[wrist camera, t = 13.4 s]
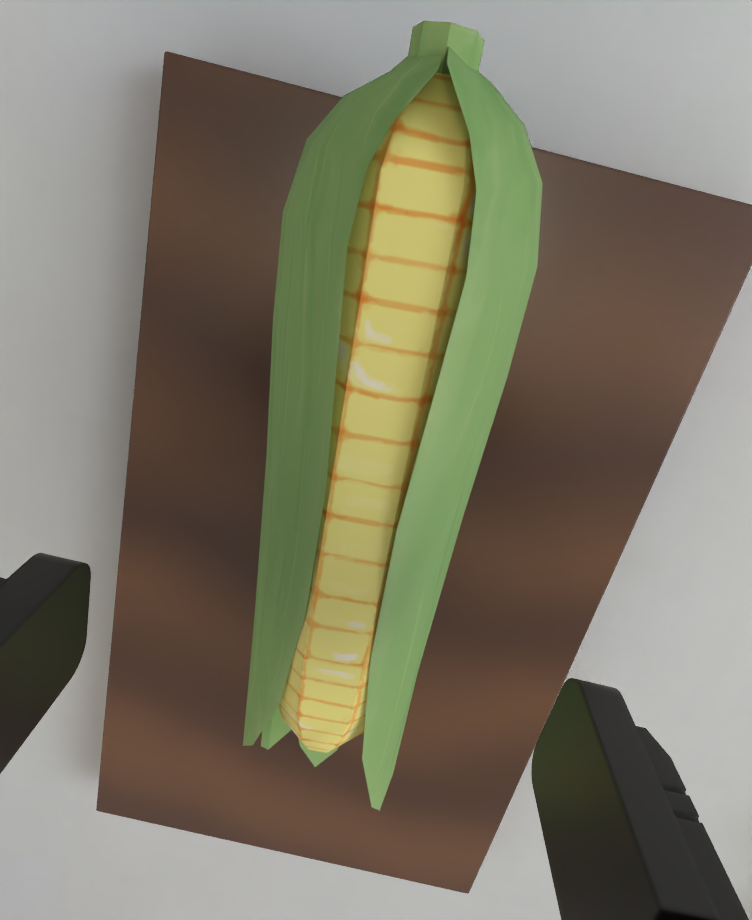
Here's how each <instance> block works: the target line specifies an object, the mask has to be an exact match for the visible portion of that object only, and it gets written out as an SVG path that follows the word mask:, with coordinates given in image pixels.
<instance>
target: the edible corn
mask: <svg viewBox="0 0 752 920" xmlns="http://www.w3.org/2000/svg"><path fill="white" fill-rule="evenodd" d="M483 46H484V39H483V38H482V37H481V36H480V35H479V33H478V32H477V31H475V30H472V29H469V28H466V27H463V26H460V25H457V24H454V23H451V22H433V21H423V22H421V23H419V24H418V25H416V26H414V27H413V30H412V36H411V42H410V48H409V54H408V57H406V58H405V59H404V60H403V61H402V62H400V63H399V64H398V65H397V66H396V67H394V68H393V69H392V70H391V71H390V72H388V73H386V74H384V75H382V76H380V77H378V78H377V79H375V80H373V81H371V82H369V83H367V84H365V85H363V86H362V87H360V88H358V89H356V90H354V91H352V92H350V93H348V94H346V95H345V96H343V97H342V98H341V100H340V101H339V102H338V103H337V104H336V106H335V107H334V108H333V109H332V110H331V111H330V113H329V114H328V115H327V116H326V117H325V118H324V120H323V121H322V122H321V123H320V124H319V125H318V127H317V128H316V129H315V130H314V131H313V133H312V134H311V135H310V136H309V137H308V138H307V140H306V143H305V146H304V149H303V152H302V155H301V158H300V161H299V164H298V167H297V171H296V174H295V177H294V180H293V183H292V186H291V189H290V192H289V195H288V198H287V201H286V204H285V207H284V210H283V217H282V228H281V238H280V249H279V260H278V271H277V281H276V292H275V303H274V314H273V330H272V351H271V372H270V393H269V414H268V435H267V455H266V469H265V482H264V496H263V509H262V523H261V536H260V550H259V564H258V577H257V591H256V604H255V616H254V627H253V638H252V649H251V660H250V671H249V683H248V694H247V705H246V716H245V727H244V739H243V746H249V745H253V744H254V743H255V741H256V740H257V738H258V736H259V735H260V733H261V732H262V739H261V747H264V748H266V749H268V750H269V749H270V748H271V747H272V746H273V745H274V744H276V743H277V742H278V741H279V740H280V739H281V738H282V737H284V736H285V735H286V734H287V733H288V732H289V731H291V730H293V732H294V733H295V734H296V735H297V737H298V738H299V744H300V747H301V748H302V750H303V751H304V752H305V754H306V755H307V757H308V758H309V759H310V761H311V762H312V764H313V765H314V767H316V766H317V765H319V764H320V763H321V762H323V761H324V760H325V759H326V758H328V757H329V756H330V755H331V754H333V753H334V752H335V751H337V749H338V747H339V746H340V745H342V744H344V743H346V742H347V741H349V740H351V739H353V738H354V737H356V736H358V735H359V734H361V733H363V731H364V742H363V754H362V761H363V766H364V771H365V776H366V781H367V786H368V791H369V796H370V802H371V807H373V808H375V809H377V810H379V811H380V808H381V805H382V803H383V800H384V797H385V794H386V792H387V789H388V786H389V783H390V781H391V778H392V775H393V772H394V768H395V764H396V760H397V756H398V751H399V747H400V743H401V739H402V735H403V731H404V727H405V723H406V719H407V714H408V710H409V706H410V702H411V698H412V694H413V690H414V686H415V682H416V678H417V673H418V669H419V666H420V663H421V659H422V656H423V652H424V649H425V645H426V642H427V639H428V635H429V632H430V628H431V625H432V621H433V618H434V615H435V611H436V608H437V604H438V601H439V597H440V594H441V591H442V587H443V584H444V580H445V577H446V573H447V570H448V566H449V563H450V560H451V556H452V553H453V549H454V546H455V542H456V539H457V536H458V532H459V529H460V525H461V522H462V518H463V515H464V512H465V509H466V506H467V503H468V499H469V496H470V493H471V490H472V487H473V484H474V480H475V477H476V474H477V471H478V468H479V465H480V462H481V458H482V455H483V452H484V449H485V446H486V443H487V440H488V436H489V433H490V430H491V427H492V424H493V421H494V417H495V414H496V411H497V408H498V405H499V402H500V399H501V395H502V392H503V389H504V386H505V383H506V380H507V376H508V373H509V369H510V365H511V362H512V358H513V354H514V351H515V347H516V343H517V340H518V336H519V332H520V329H521V325H522V321H523V318H524V314H525V310H526V307H527V303H528V299H529V296H530V292H531V288H532V284H533V281H534V277H535V273H536V270H537V265H538V248H539V232H540V216H541V200H542V184H543V183H542V180H541V177H540V174H539V170H538V167H537V164H536V161H535V157H534V154H533V151H532V148H531V144H530V141H529V138H528V134H527V131H526V128H525V125H524V124H523V122H522V121H521V120H520V119H519V117H518V116H517V115H516V113H515V112H514V111H513V110H512V108H511V107H510V106H509V105H508V103H507V102H506V101H505V99H504V98H503V97H502V96H501V94H500V93H499V92H498V90H497V89H496V88H495V87H494V85H493V84H492V83H491V82H490V81H489V80H488V79H486V78H485V77H484V76H483V75H482V74H480V73H479V72H478V70H479V65H480V61H481V56H482V51H483Z"/></svg>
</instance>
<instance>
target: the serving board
mask: <svg viewBox="0 0 752 920" xmlns="http://www.w3.org/2000/svg"><path fill="white" fill-rule="evenodd" d="M341 98H342V97H339V96H335V95H331V94H327V93H324V92H320V91H316V90H312V89H308V88H305V87H301V86H297V85H293V84H289V83H286V82H282V81H278V80H274V79H270V78H267V77H263V76H259V75H255V74H251V73H247V72H244V71H240V70H236V69H232V68H228V67H225V66H221V65H217V64H213V63H209V62H206V61H202V60H198V59H194V58H190V57H187V56H183V55H179V54H175V53H171V52H165V54H164V66H163V77H162V88H161V99H160V110H159V121H158V132H157V143H156V154H155V166H154V177H153V188H152V199H151V210H150V221H149V232H148V243H147V254H146V265H145V277H144V288H143V299H142V310H141V321H140V332H139V343H138V354H137V365H136V376H135V388H134V399H133V410H132V421H131V432H130V443H129V454H128V465H127V476H126V488H125V499H124V510H123V521H122V532H121V543H120V554H119V565H118V576H117V587H116V599H115V610H114V621H113V632H112V643H111V654H110V665H109V676H108V687H107V698H106V710H105V721H104V732H103V743H102V754H101V765H100V776H99V787H98V798H97V811H100V812H105V813H109V814H114V815H118V816H123V817H127V818H132V819H136V820H141V821H145V822H149V823H154V824H158V825H163V826H167V827H172V828H176V829H181V830H185V831H190V832H194V833H199V834H203V835H208V836H212V837H217V838H221V839H226V840H230V841H235V842H239V843H244V844H248V845H252V846H257V847H261V848H266V849H270V850H275V851H279V852H284V853H288V854H293V855H297V856H302V857H306V858H311V859H315V860H320V861H324V862H329V863H333V864H338V865H342V866H347V867H351V868H356V869H360V870H364V871H369V872H373V873H378V874H382V875H387V876H391V877H396V878H400V879H405V880H409V881H414V882H418V883H423V884H427V885H432V886H436V887H441V888H445V889H450V890H454V891H459V892H463V893H469V891H470V889H471V887H472V885H473V882H474V880H475V878H476V876H477V874H478V871H479V869H480V867H481V865H482V862H483V860H484V858H485V856H486V854H487V851H488V849H489V847H490V845H491V842H492V840H493V838H494V836H495V834H496V831H497V829H498V827H499V825H500V823H501V820H502V818H503V816H504V814H505V811H506V809H507V807H508V805H509V803H510V800H511V798H512V796H513V794H514V791H515V789H516V787H517V785H518V783H519V780H520V778H521V776H522V774H523V771H524V769H525V767H526V765H527V763H528V760H529V758H530V756H531V754H532V751H533V749H534V747H535V745H536V743H537V740H538V738H539V736H540V734H541V731H542V729H543V727H544V725H545V723H546V720H547V718H548V716H549V714H550V711H551V709H552V707H553V705H554V703H555V700H556V698H557V696H558V694H559V692H560V689H561V687H562V685H563V683H564V680H565V678H566V676H567V674H568V672H569V669H570V667H571V665H572V663H573V660H574V658H575V656H576V654H577V652H578V649H579V647H580V645H581V643H582V640H583V638H584V636H585V634H586V632H587V629H588V627H589V625H590V623H591V620H592V618H593V616H594V614H595V612H596V609H597V607H598V605H599V603H600V600H601V598H602V596H603V594H604V592H605V589H606V587H607V585H608V583H609V580H610V578H611V576H612V574H613V572H614V569H615V567H616V565H617V563H618V561H619V558H620V556H621V554H622V552H623V549H624V547H625V545H626V543H627V541H628V538H629V536H630V534H631V532H632V529H633V527H634V525H635V523H636V521H637V518H638V516H639V514H640V512H641V509H642V507H643V505H644V503H645V501H646V498H647V496H648V494H649V492H650V489H651V487H652V485H653V483H654V481H655V478H656V476H657V474H658V472H659V469H660V467H661V465H662V463H663V461H664V458H665V456H666V454H667V452H668V449H669V447H670V445H671V443H672V441H673V438H674V436H675V434H676V432H677V430H678V427H679V425H680V423H681V421H682V418H683V416H684V414H685V412H686V410H687V407H688V405H689V403H690V401H691V398H692V396H693V394H694V392H695V390H696V387H697V385H698V383H699V381H700V378H701V376H702V374H703V372H704V370H705V367H706V365H707V363H708V361H709V358H710V356H711V354H712V352H713V350H714V347H715V345H716V343H717V341H718V338H719V336H720V334H721V332H722V330H723V327H724V325H725V323H726V321H727V318H728V316H729V314H730V312H731V310H732V307H733V305H734V303H735V301H736V299H737V296H738V294H739V292H740V290H741V287H742V285H743V283H744V281H745V279H746V276H747V274H748V272H749V270H750V267H751V265H752V205H750V204H747V203H743V202H739V201H735V200H731V199H728V198H724V197H720V196H716V195H712V194H708V193H705V192H701V191H697V190H693V189H689V188H686V187H682V186H678V185H674V184H670V183H667V182H663V181H659V180H655V179H651V178H648V177H644V176H640V175H636V174H632V173H628V172H625V171H621V170H617V169H613V168H609V167H606V166H602V165H598V164H594V163H590V162H587V161H583V160H579V159H575V158H571V157H568V156H564V155H560V154H556V153H552V152H548V151H545V150H541V149H537V148H533V147H531V148H532V151H533V154H534V157H535V161H536V164H537V167H538V170H539V174H540V177H541V180H542V183H543V184H542V200H541V216H540V232H539V248H538V265H537V270H536V273H535V277H534V281H533V284H532V288H531V292H530V296H529V299H528V303H527V307H526V310H525V314H524V318H523V321H522V325H521V329H520V332H519V336H518V340H517V343H516V347H515V351H514V354H513V358H512V362H511V365H510V369H509V373H508V376H507V380H506V383H505V386H504V389H503V392H502V395H501V399H500V402H499V405H498V408H497V411H496V414H495V417H494V421H493V424H492V427H491V430H490V433H489V436H488V440H487V443H486V446H485V449H484V452H483V455H482V458H481V462H480V465H479V468H478V471H477V474H476V477H475V480H474V484H473V487H472V490H471V493H470V496H469V499H468V503H467V506H466V509H465V512H464V515H463V518H462V522H461V525H460V529H459V532H458V536H457V539H456V542H455V546H454V549H453V553H452V556H451V560H450V563H449V566H448V570H447V573H446V577H445V580H444V584H443V587H442V591H441V594H440V597H439V601H438V604H437V608H436V611H435V615H434V618H433V621H432V625H431V628H430V632H429V635H428V639H427V642H426V645H425V649H424V652H423V656H422V659H421V663H420V666H419V669H418V673H417V678H416V682H415V686H414V690H413V694H412V698H411V702H410V706H409V710H408V714H407V719H406V723H405V727H404V731H403V735H402V739H401V743H400V747H399V751H398V756H397V760H396V764H395V768H394V772H393V775H392V778H391V781H390V783H389V786H388V789H387V792H386V794H385V797H384V800H383V803H382V805H381V808H380V811H379V810H377V809H375V808H373V807H371V802H370V796H369V791H368V786H367V781H366V776H365V771H364V766H363V761H362V754H363V742H364V731H363V733H361V734H359V735H358V736H356V737H354V738H353V739H351V740H349V741H347V742H346V743H344V744H342V745H340V746H339V747H338V749H337V751H335V752H334V753H333V754H331V755H330V756H329V757H328V758H326V759H325V760H324V761H323V762H321V763H320V764H319V765H317V766H316V767H314V765H313V764H312V762H311V761H310V759H309V758H308V757H307V755H306V754H305V752H304V751H303V750H302V748H301V747H300V744H299V738H298V737H297V735H296V734H295V733H294V732H293V730H291V731H289V732H288V733H287V734H286V735H285V736H284V737H282V738H281V739H280V740H279V741H278V742H277V743H276V744H274V745H273V746H272V747H271V748H270V749H269V750H268V749H266V748H264V747H261V739H262V732H261V733H260V735H259V736H258V738H257V740H256V741H255V743H254V744H253V745H249V746H243V739H244V727H245V716H246V705H247V694H248V683H249V671H250V660H251V649H252V638H253V627H254V616H255V604H256V591H257V577H258V564H259V550H260V536H261V523H262V509H263V496H264V482H265V469H266V455H267V435H268V414H269V393H270V372H271V351H272V330H273V314H274V303H275V292H276V281H277V271H278V260H279V249H280V238H281V228H282V217H283V210H284V207H285V204H286V201H287V198H288V195H289V192H290V189H291V186H292V183H293V180H294V177H295V174H296V171H297V167H298V164H299V161H300V158H301V155H302V152H303V149H304V146H305V143H306V140H307V138H308V137H309V136H310V135H311V134H312V133H313V131H314V130H315V129H316V128H317V127H318V125H319V124H320V123H321V122H322V121H323V120H324V118H325V117H326V116H327V115H328V114H329V113H330V111H331V110H332V109H333V108H334V107H335V106H336V104H337V103H338V102H339V101H340V100H341Z"/></svg>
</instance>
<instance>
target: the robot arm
mask: <svg viewBox="0 0 752 920" xmlns="http://www.w3.org/2000/svg"><path fill="white" fill-rule="evenodd" d="M90 580H91V571H90V567H89V565H88V564H86V563H82V562H78V561H74V560H69V559H65V558H61V557H56V556H52V555H48V554H43V553H38V554H36V555H34V556H33V557H31V558H30V559H29V560H28V561H27V562H26V563H24V564H23V565H22V566H21V567H20V568H19V569H18V570H17V571H15V572H14V573H13V574H12V575H11V576H10V577H9V578H7V579H4V578H0V773H1V772H2V771H3V769H4V768H5V767H6V765H7V764H8V763H9V761H10V760H11V759H12V757H13V756H14V755H15V753H16V752H17V751H18V749H19V748H20V747H21V745H22V744H23V743H24V741H25V740H26V739H27V737H28V736H29V734H30V733H31V732H32V730H33V729H34V728H35V726H36V725H37V724H38V722H39V721H40V720H41V718H42V717H43V716H44V714H45V713H46V712H47V710H48V709H49V708H50V706H51V705H52V704H53V702H54V701H55V700H56V698H57V697H58V695H59V694H60V693H61V691H62V690H63V689H64V687H65V686H66V685H67V683H68V682H69V681H70V679H71V678H72V676H73V675H74V673H75V671H76V669H77V667H78V665H79V663H80V660H81V658H82V655H83V652H84V648H85V644H86V637H87V623H88V609H89V594H90ZM532 784H533V789H534V794H535V798H536V803H537V808H538V812H539V817H540V822H541V826H542V831H543V836H544V840H545V845H546V850H547V854H548V859H549V864H550V868H551V873H552V878H553V882H554V887H555V892H556V896H557V901H558V906H559V910H560V915H561V920H749V919H748V917H747V915H746V913H745V911H744V909H743V907H742V905H741V902H740V900H739V898H738V896H737V894H736V892H735V890H734V888H733V886H732V884H731V882H730V880H729V878H728V875H727V873H726V871H725V869H724V867H723V865H722V863H721V861H720V859H719V857H718V855H717V853H716V851H715V849H714V846H713V844H712V842H711V840H710V838H709V836H708V834H707V832H706V830H705V828H704V826H703V824H702V823H699V821H698V817H699V815H698V813H697V811H696V809H695V807H694V805H693V803H692V801H691V799H690V797H689V796H688V795H686V793H685V791H686V788H685V786H684V784H683V782H682V780H681V778H680V776H679V774H678V772H677V770H676V768H675V765H674V763H673V761H672V759H671V757H670V756H669V755H668V754H667V753H666V752H665V750H664V749H663V748H662V747H661V746H660V745H659V743H658V742H657V741H656V740H655V739H654V738H653V736H652V735H651V734H650V733H649V732H648V730H647V729H646V728H642V727H638V726H635V724H634V721H633V719H632V717H631V715H630V712H629V710H628V708H627V706H626V703H625V701H624V699H623V697H622V695H621V693H620V692H619V691H618V690H617V689H616V688H612V687H608V686H604V685H599V684H595V683H591V682H587V681H582V680H578V679H574V678H570V679H568V680H567V681H566V682H565V683H564V685H563V687H562V688H561V691H560V693H559V695H558V697H557V699H556V701H555V704H554V706H553V708H552V710H551V712H550V715H549V717H548V719H547V721H546V723H545V725H544V728H543V730H542V732H541V734H540V736H539V739H538V741H537V743H536V746H535V749H534V753H533V759H532Z"/></svg>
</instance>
